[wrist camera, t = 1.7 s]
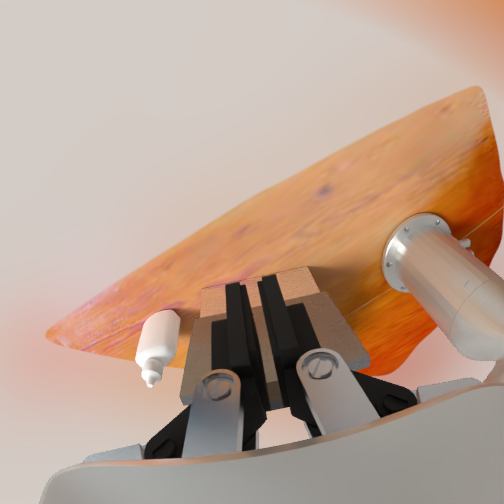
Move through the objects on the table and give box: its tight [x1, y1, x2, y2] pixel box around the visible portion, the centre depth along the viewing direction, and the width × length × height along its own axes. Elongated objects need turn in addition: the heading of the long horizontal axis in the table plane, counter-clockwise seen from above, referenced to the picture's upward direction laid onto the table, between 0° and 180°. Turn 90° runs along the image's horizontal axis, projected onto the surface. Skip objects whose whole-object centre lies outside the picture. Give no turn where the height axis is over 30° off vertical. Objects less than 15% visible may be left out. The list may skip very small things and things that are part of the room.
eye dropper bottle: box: [135, 309, 181, 388], centre depth 37 cm, size 4×6×12 cm
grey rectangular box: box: [200, 266, 320, 318], centre depth 40 cm, size 19×12×8 cm, turn 101°
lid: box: [180, 291, 370, 410], centre depth 27 cm, size 15×15×1 cm
